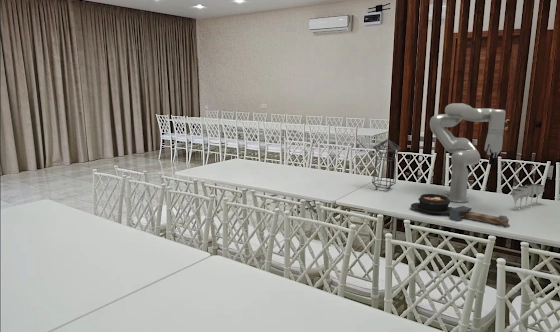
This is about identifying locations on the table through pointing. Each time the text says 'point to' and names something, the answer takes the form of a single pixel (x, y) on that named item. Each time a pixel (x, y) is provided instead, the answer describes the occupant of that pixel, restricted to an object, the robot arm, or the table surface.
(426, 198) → the casserole
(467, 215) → the brown wooden bar
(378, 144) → the geometric lantern
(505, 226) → the pintle plate
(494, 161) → the robot arm
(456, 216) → the keeper
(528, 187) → the goblet set
